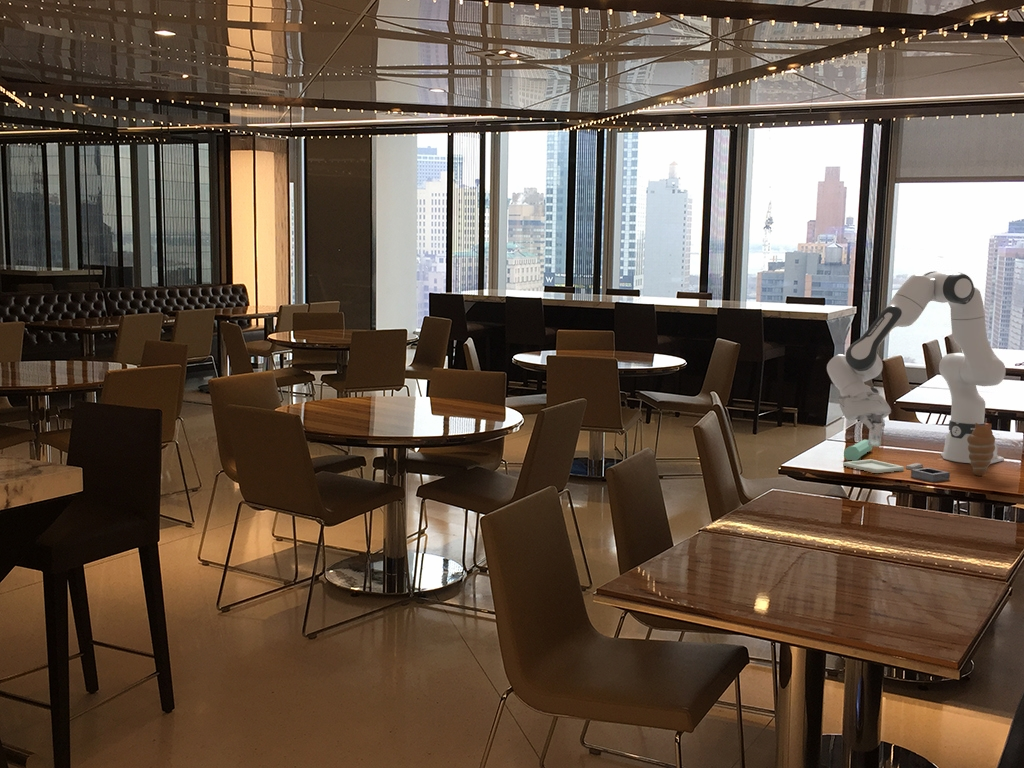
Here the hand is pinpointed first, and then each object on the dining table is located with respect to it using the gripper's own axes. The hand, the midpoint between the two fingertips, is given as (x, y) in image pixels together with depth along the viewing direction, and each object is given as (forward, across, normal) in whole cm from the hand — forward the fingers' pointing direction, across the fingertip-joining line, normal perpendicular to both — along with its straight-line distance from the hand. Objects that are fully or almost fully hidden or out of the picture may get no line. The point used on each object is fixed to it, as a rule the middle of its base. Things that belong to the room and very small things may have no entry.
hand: (877, 427), depth 332 cm
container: (-3, +15, +24) cm, 29 cm away
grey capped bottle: (+4, 0, +5) cm, 7 cm away
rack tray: (+10, 0, +11) cm, 15 cm away
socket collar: (+23, +5, -3) cm, 24 cm away
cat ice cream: (+26, +25, -6) cm, 37 cm away
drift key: (+14, +15, +8) cm, 22 cm away
